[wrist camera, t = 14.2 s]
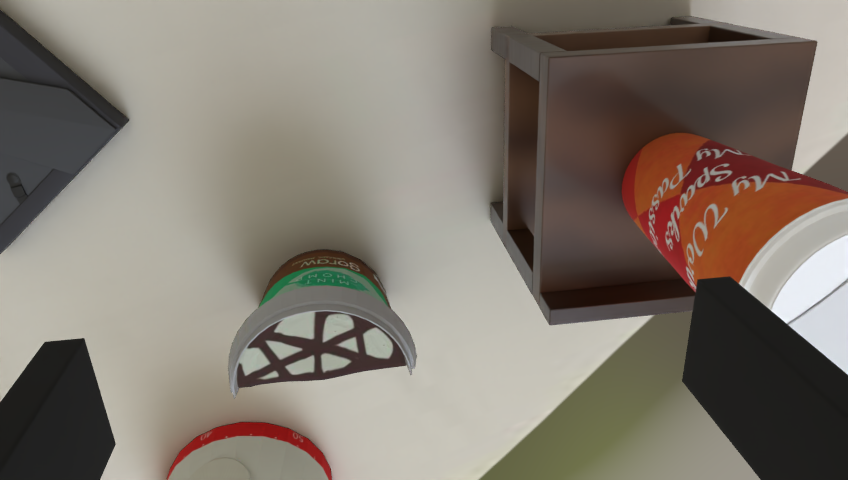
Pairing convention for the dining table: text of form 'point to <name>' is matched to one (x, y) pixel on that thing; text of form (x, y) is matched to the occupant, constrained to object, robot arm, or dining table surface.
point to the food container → (319, 325)
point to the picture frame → (43, 128)
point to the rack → (626, 146)
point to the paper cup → (748, 230)
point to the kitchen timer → (250, 455)
